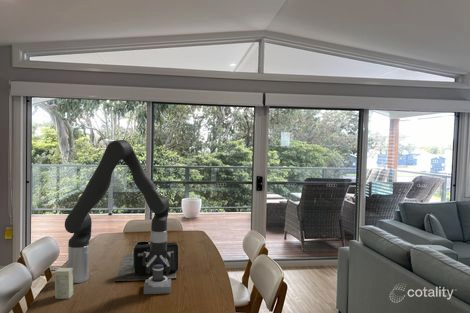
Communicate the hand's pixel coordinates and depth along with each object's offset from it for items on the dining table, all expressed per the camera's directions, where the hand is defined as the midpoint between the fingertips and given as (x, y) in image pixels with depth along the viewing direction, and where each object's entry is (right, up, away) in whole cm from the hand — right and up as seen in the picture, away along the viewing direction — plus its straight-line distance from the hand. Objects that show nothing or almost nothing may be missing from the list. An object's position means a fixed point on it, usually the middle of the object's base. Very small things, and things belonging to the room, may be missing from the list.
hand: (157, 273), depth 162 cm
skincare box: (-39, -7, -10) cm, 41 cm away
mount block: (0, -7, 0) cm, 7 cm away
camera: (-5, -7, +19) cm, 21 cm away
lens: (0, -4, 0) cm, 4 cm away
